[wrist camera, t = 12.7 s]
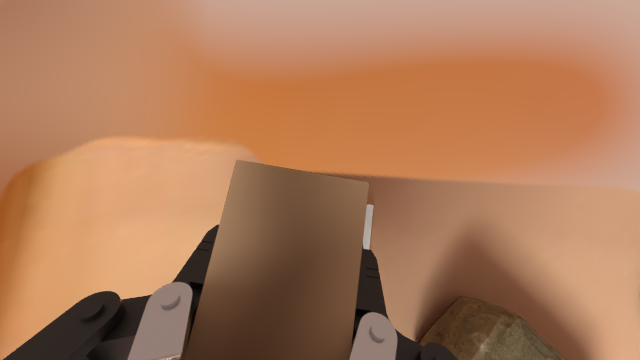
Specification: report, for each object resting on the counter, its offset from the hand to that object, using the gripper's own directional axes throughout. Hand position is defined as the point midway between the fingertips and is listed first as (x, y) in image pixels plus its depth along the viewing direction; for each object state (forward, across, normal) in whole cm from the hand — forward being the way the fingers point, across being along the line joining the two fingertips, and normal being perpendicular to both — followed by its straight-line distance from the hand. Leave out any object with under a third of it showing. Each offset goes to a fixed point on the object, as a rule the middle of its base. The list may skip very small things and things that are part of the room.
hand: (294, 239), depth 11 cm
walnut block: (+3, 0, +4) cm, 4 cm away
